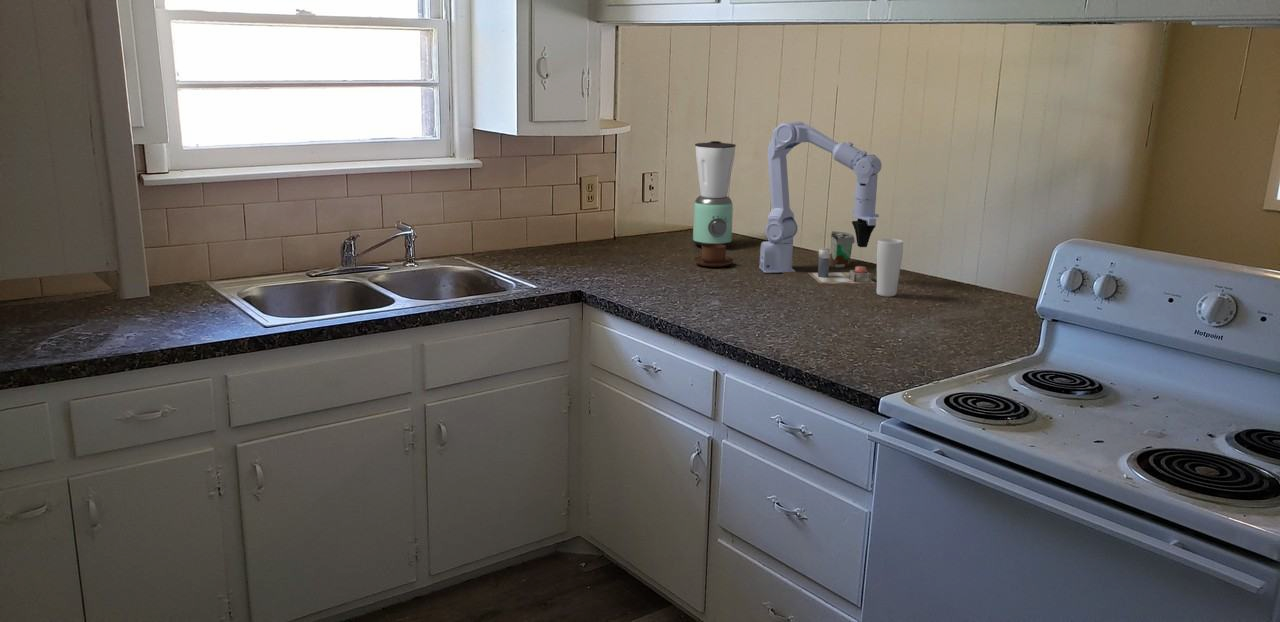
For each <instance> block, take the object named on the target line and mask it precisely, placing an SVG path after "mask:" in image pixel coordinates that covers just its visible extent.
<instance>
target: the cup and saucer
mask: <svg viewBox="0 0 1280 622" xmlns="http://www.w3.org/2000/svg"><path fill="white" fill-rule="evenodd" d="M726 250H727V249H726V246H725V245H722V244H704V245H702V249H701V256H700V255H699V256H696V257H693V261H694V262H695V264H696V265H700V266H702V267H708V268H723V267H726V266H727V267H728V266H729V265H731V264H732V263H733V262H734V259H733V258H731V257H728V256H727V255H726V254H727V253H726V252H727V251H726Z"/></svg>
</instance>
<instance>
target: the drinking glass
mask: <svg viewBox="0 0 1280 622" xmlns="http://www.w3.org/2000/svg"><path fill="white" fill-rule="evenodd" d="M903 251H904V241H903V240H902V239H897V238H879V239H877V245H876V289H875V290H876V291H875V292H876V293H875V294H877V295H878V296H880V297H886V298H889V297H890V298H891V297H895V296H896V295H897V293H898V284H899V277H900V271H901V266H902V260H903V259H902V258H903Z"/></svg>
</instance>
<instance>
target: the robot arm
mask: <svg viewBox="0 0 1280 622" xmlns="http://www.w3.org/2000/svg"><path fill="white" fill-rule="evenodd" d="M771 137H772V138H771V140H770V142H769V144H768V147H767V163H768V165H767V166H768V177H769V178H768V179H769V195H770V206H771V207H770V208H771V210H770V213H769V214H768V216H767V218H766V219H767V222H766V227H765V236H766V237H767V239H768V241H762V242H761V244H760V248H759V249H760V252H759V266H758V267H759V269H760V270H761V271H763V273H764V274H765V273H766V274H768V273H769V274H771V273H772V274H776V273H777V274H779V273H780V274H782V273H783V272H786V273H787V272H791V273H792V272H796V270H795V269H794V268H793V255H794V252H793V251H794V249H793V248H794V237H795V236H796V235H797V233H798V224H797V222H796V219H795V215H794V211H793V210H792V209H791V207H790V195H789V193H790V191H789V179H788V178H789V177H788V175H789V174H788V162H787V160H788V159H787V155H788V154H789V153H791V152H790V151H792V150H793V148H794V147H796V146H798V145H800V144H802V143H810V144H812V145H814V146H815V147H818V148H819V149H822V150H823V151H826V152H828V153H830V154H832V156H833V159H834V161H836V162H837V163H839V164H841V165H843V166H845V167H846V168H848V169H850V170H852V171H853V172H854V174H855V175H856V182H855V195H854V196H855V197H854V207H853V208H854V210H852V218H856V219H857V220H852V221H851V224H852V226H853V229H854V232H855V237H856V244H857V246H858V248H867V247H868V245H869V242H870V237H871V236H872V233H873V232H874V229H875V228H876V226H877V224H876V223H877V218H879V217H880V214H878V213H876V205H877V189H878V175H879V173H880V172H881V169H882V161H881V160H880V158H879V157H877V156H876V155H875V154H868V152H867V151H866V150H860V149H859V148H857V147H855V146H853V145H854V143H852V142H851V141H849V142H845V141H843V142H841V143H839V142H837V141H835V140H833V139H832V138H831V137H829V136H827V135H825V134H824V133H822V132H820V131H819V130H817V129H816V128H814V127H812V126H811V125H810V124H806V123H805V122H802V121H799V120H798V121H792V122H781V123H779V124H778V126H776V127H775V128H774V129H773V130H772V136H771Z"/></svg>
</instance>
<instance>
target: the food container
mask: <svg viewBox="0 0 1280 622" xmlns="http://www.w3.org/2000/svg"><path fill="white" fill-rule="evenodd" d="M830 238H831V239H830V258H829V263H831V264H832V265H833V267H835V268H836V269H840V268H841V269H843V268H847V267H850V264H851V263H850V262H851V257H852V249H853V244H855V243H856V240H855V237H854V235H853V234H852V233H850V232H845V231H833V230H832V231H831V234H830Z"/></svg>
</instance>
